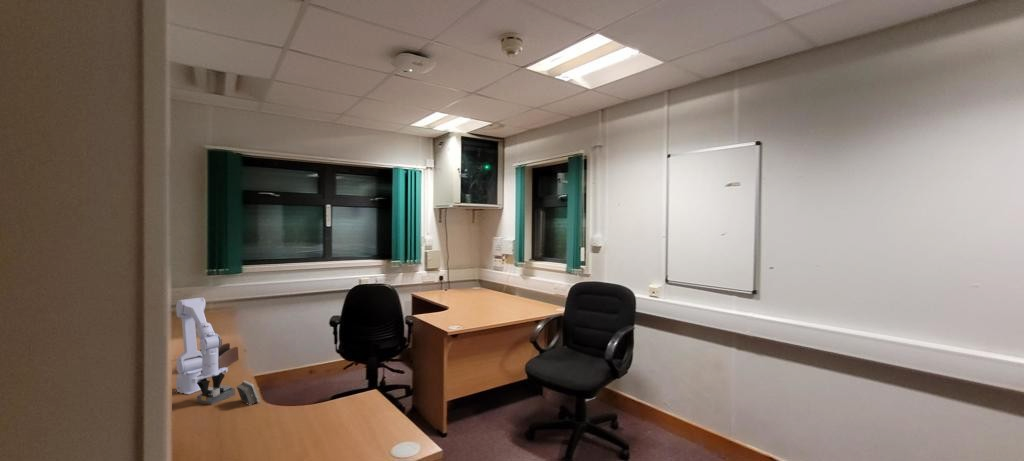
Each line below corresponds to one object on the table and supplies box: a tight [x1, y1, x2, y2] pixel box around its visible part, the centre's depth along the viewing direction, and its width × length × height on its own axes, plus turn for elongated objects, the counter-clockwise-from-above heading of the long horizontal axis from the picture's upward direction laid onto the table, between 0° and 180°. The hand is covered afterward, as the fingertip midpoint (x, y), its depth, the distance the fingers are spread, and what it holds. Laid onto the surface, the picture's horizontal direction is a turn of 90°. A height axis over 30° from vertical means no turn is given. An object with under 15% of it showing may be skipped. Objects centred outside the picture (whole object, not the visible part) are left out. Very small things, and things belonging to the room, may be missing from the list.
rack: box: [196, 384, 236, 406], centre depth 180 cm, size 9×11×4 cm
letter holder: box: [199, 338, 240, 373], centre depth 222 cm, size 10×20×14 cm, turn 9°
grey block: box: [207, 386, 220, 397], centre depth 177 cm, size 6×3×5 cm, turn 73°
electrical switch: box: [236, 380, 260, 406], centre depth 176 cm, size 9×5×9 cm, turn 57°
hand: (210, 393), depth 178 cm, fingers open, 4 cm apart
